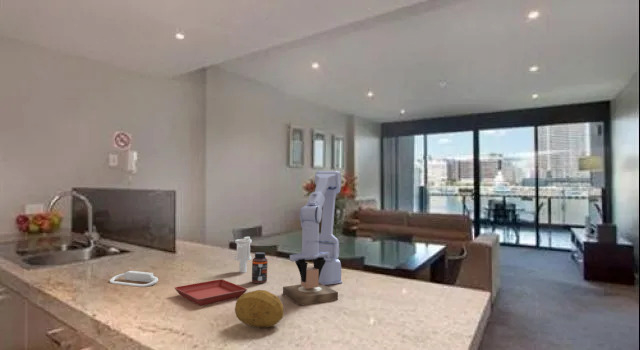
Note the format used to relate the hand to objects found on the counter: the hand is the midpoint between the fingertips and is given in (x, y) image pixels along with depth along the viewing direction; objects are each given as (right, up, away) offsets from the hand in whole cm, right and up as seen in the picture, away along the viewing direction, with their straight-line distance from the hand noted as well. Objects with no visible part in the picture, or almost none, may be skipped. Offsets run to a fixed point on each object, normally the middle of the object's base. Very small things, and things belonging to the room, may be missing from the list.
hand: (309, 280), depth 126 cm
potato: (-13, -5, -27) cm, 30 cm away
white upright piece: (-30, -6, +35) cm, 46 cm away
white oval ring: (-68, -6, +15) cm, 70 cm away
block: (0, -2, 0) cm, 2 cm away
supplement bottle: (-20, -6, +18) cm, 28 cm away
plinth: (0, -5, 0) cm, 5 cm away
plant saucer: (-34, -6, -1) cm, 34 cm away
